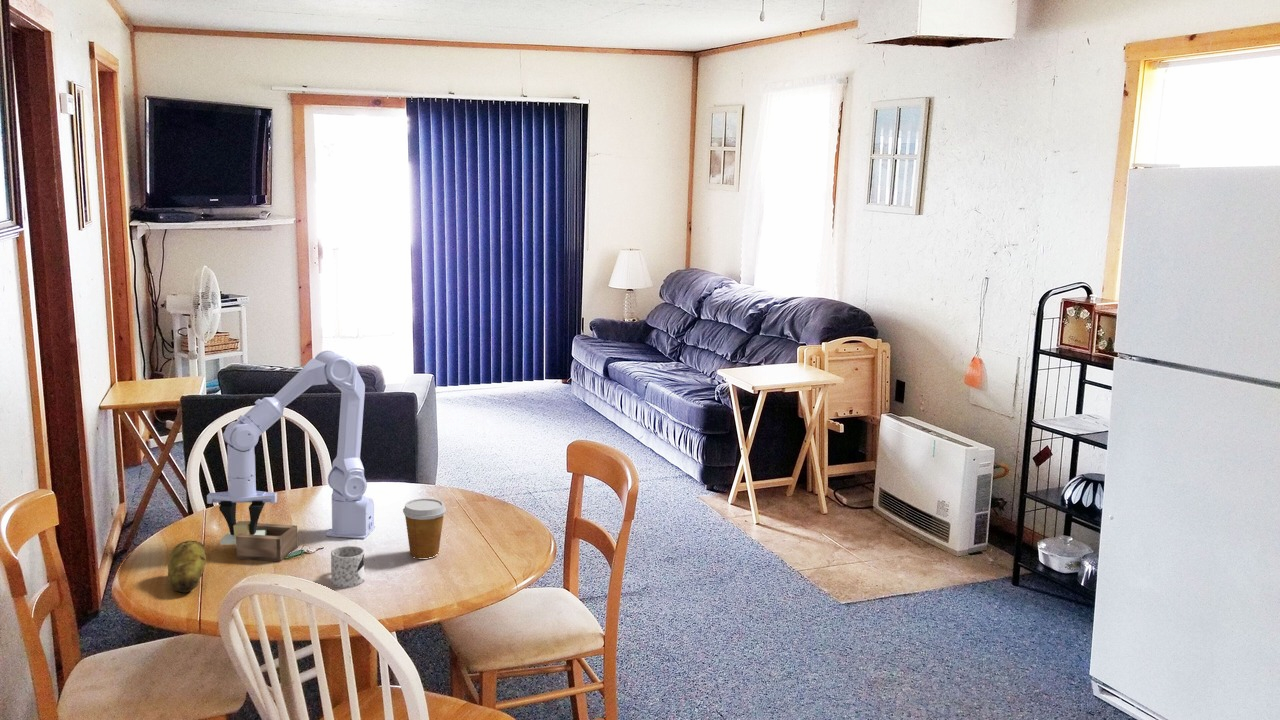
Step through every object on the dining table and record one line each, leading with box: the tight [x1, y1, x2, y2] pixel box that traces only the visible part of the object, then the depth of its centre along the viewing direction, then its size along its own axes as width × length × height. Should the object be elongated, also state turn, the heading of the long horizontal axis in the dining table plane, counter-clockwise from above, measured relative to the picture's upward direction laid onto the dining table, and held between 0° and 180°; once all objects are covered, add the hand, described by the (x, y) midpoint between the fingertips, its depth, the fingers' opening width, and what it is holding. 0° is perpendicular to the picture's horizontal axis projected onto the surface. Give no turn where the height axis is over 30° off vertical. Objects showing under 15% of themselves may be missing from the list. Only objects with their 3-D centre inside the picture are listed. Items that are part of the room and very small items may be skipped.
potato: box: [167, 540, 207, 593], centre depth 198 cm, size 8×13×8 cm, turn 3°
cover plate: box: [220, 520, 267, 546], centre depth 216 cm, size 8×6×4 cm
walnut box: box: [235, 522, 298, 563], centre depth 216 cm, size 10×9×5 cm
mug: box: [330, 545, 365, 589], centre depth 204 cm, size 10×7×7 cm, turn 21°
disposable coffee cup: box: [402, 498, 447, 559], centre depth 219 cm, size 10×10×12 cm
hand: (243, 533), depth 216 cm, fingers closed on cover plate, 4 cm apart
